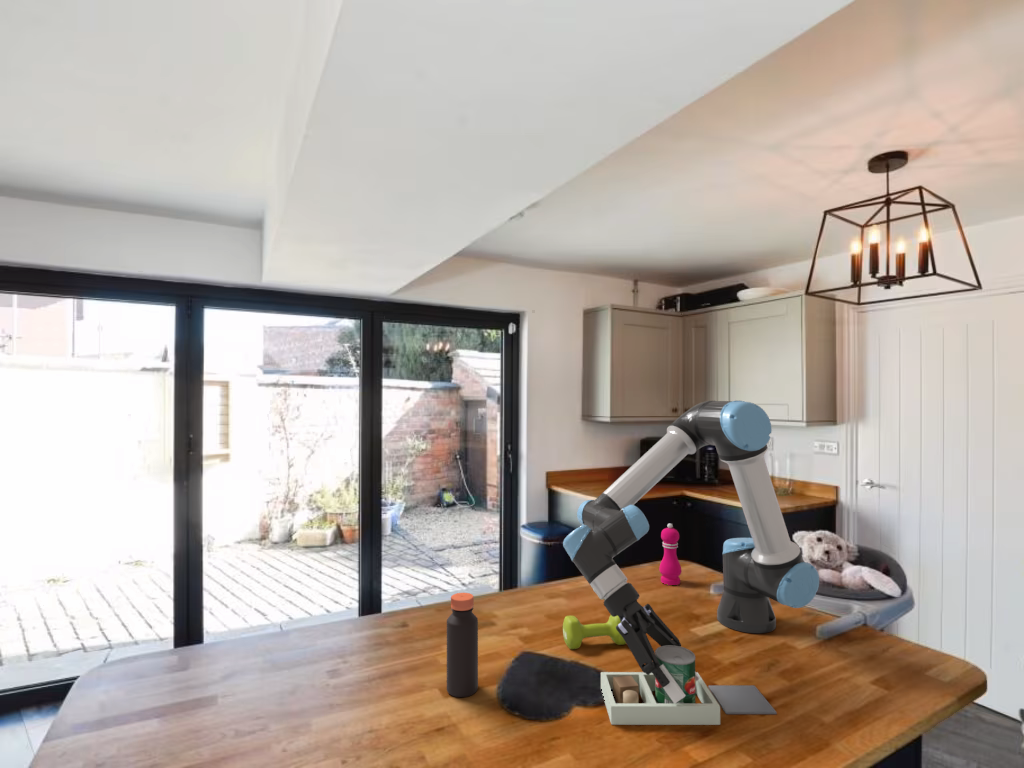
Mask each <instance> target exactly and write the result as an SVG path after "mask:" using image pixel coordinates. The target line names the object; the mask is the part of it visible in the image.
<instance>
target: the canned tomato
mask: <svg viewBox="0 0 1024 768" xmlns="http://www.w3.org/2000/svg"><path fill="white" fill-rule="evenodd" d="M654 653H655V655H656V657H657V659H658V661H659V664H660V666H661V665H662V664H663V665H664V666H665V668H666V669H667V670H668V672H669V673H670V674H671V676H672V677H673V679H674V680H675V681H676V683H677V684H678V686H679V687H680V688H681V690H682V691H683V692H684V694H685V695H686V696H685V697H684V698H682V699H681V700H679V701H678V702H677V703H697V702H696V695H697V694H696V692H695V690H696V689H695V672H696V655H695V653H694V652H693V651H692V650H690V649H688V648H686V647H683V646H681V647H680V646H674V645H666V646H658V647H657V648H655V650H654ZM655 682H656V683H655V685H656V687H655V689H656V691H654V692H655V696H654V698H655V701H656V703H673V701H672V700H671V698H670V697H669V695H668V694H667V693H666V691H665V690H664V688H663V687H662V686H661V684H660V683H659V682H658V680H657V679H656V677H655Z"/></svg>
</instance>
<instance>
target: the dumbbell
mask: <svg viewBox="0 0 1024 768" xmlns="http://www.w3.org/2000/svg"><path fill="white" fill-rule="evenodd" d="M620 623H621V621H620V618H619V616H618V615H617V616H615V617H613V616H611V614H610V615H609V617H608V620H607V622H605V623H603V622H601V623H590V624H582V623H581V622H580V620H579V619H578V618H577V617H576V616H575V615H566V616H565V617H564V619H563V623H562V635H563V641H564V643H565V644H566V646H567V648H568V649H570V650H577V649H579V648H580V647H581V645H582V642H583V640H584V639H586V638H593V637H594V638H596V637H605V636H607V637H610V639H611V640H612V641H613V642H614V643H615V645H617V646H622V645H623V646H625V645H627V644H626V642H625V640H624V638H623V637H622V636H621V634H620V633H619V632H618V631H617V629H616V626H617V625H618V624H620ZM627 633H628V632H627Z"/></svg>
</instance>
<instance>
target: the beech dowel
mask: <svg viewBox="0 0 1024 768" xmlns="http://www.w3.org/2000/svg"><path fill="white" fill-rule="evenodd" d="M623 703H638V693H637V692H636V691H633V690H626V691H624V692H623Z"/></svg>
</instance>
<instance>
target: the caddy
mask: <svg viewBox="0 0 1024 768" xmlns="http://www.w3.org/2000/svg"><path fill="white" fill-rule="evenodd" d="M695 672H696V671H695ZM696 673H697V674H698V676H699V677H700V679H699V680H697V681H696V682H695V689H696V690H695V693H696V694H695V695H696V696H697V697H698V699H699V701H700V702H701V703H697V702H696V703H675V704H674V703H656V698H655V696H654V695H653V692H655V691H656V689H655V687H656V685H655V683H656V682H655V676H654V675H653V673H650V674H649V675H647V674H646V673H644V672H643V671H636V672H635V671H630V672H629V671H601V672H600V690H601V689H602V691H601V694H602V693H603V694H602V697H603V696H604V698H603V701H604V700H605V701H604V704H605V708H606V711H607V714H608V718H609V722H610V724H611V726H612V725H614V726H615V725H616V726H617V725H620V726H621V725H626V726H627V725H628V726H630V725H631V726H635V725H637V726H640V725H641V726H642V725H644V726H645V725H646V726H648V725H649V726H651V725H653V726H655V725H656V726H657V725H658V726H664V725H666V726H671V725H672V726H673V725H675V726H678V725H681V726H683V725H684V726H685V725H686V726H687V725H689V726H690V725H691V726H693V725H694V726H696V725H697V726H699V725H700V726H703V725H705V726H709V725H710V726H711V725H713V726H714V725H715V726H719V725H721V705H720V704H719V702H718V701H717V699H716V698H715V696H714V695H713V693H712V692H711V690H710V689H709V687H708V686H707V684H706V683H705V681H704V680H703V678H702V676H701V675H700V674H699V672H698V671H697V672H696ZM622 676H632V677H633V679H634V680H635V681H636V683H637V684H638V685H639V695H640V697H641V700H642V703H617V702H616V699H615V698H614V696H613V691H611V689H613V677H622Z"/></svg>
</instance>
